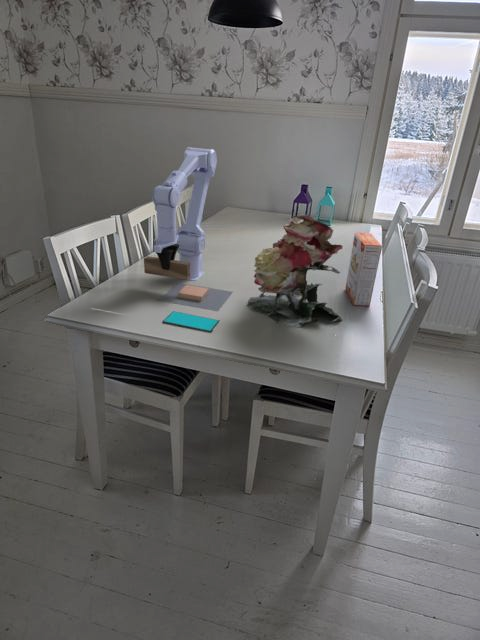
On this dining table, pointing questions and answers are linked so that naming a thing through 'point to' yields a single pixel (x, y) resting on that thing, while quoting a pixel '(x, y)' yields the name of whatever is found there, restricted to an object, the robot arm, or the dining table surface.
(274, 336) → the dining table surface
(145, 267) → the brown wooden plank
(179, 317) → the smartphone
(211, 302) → the mat
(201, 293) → the tile
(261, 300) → the rose bouquet
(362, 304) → the cracker box
